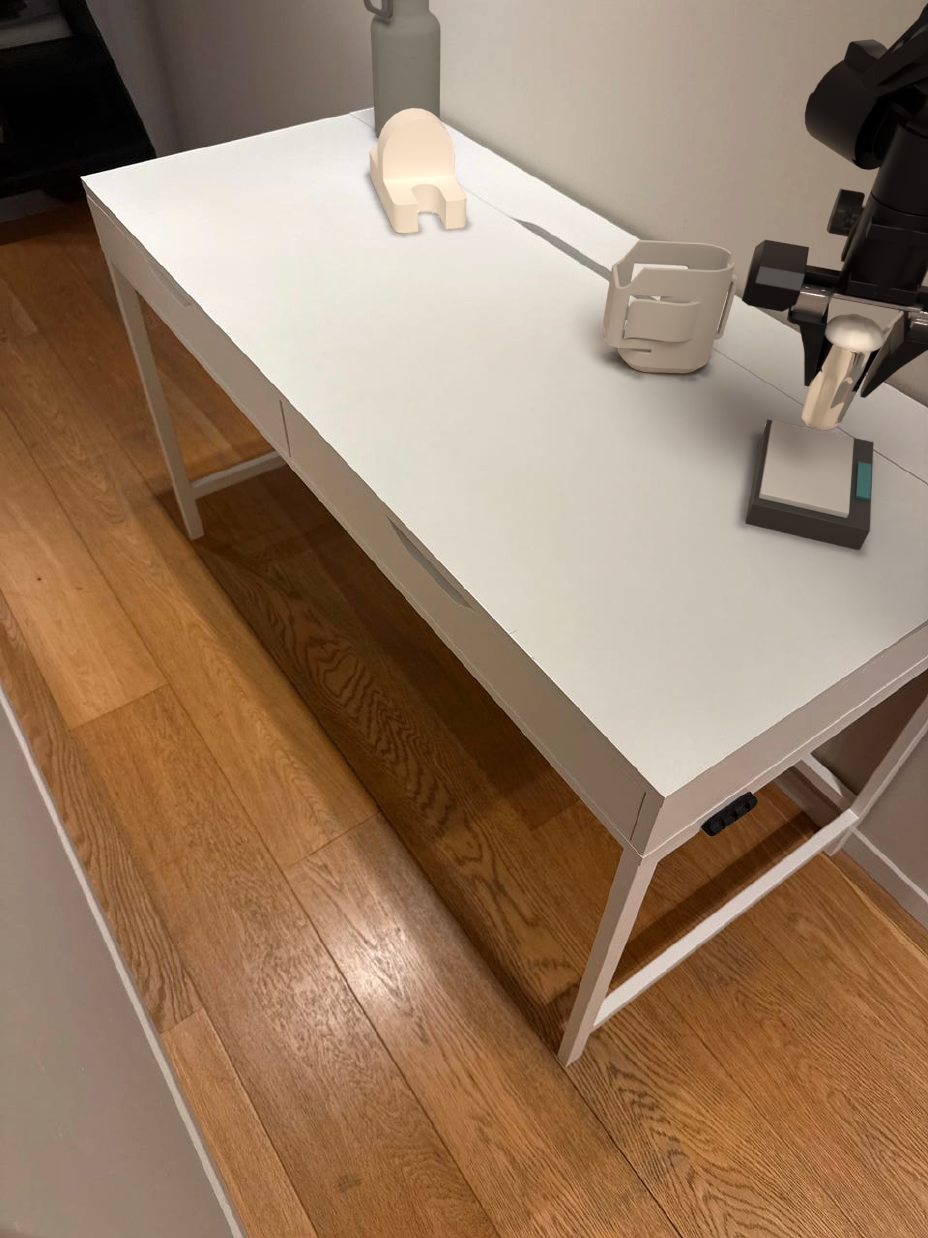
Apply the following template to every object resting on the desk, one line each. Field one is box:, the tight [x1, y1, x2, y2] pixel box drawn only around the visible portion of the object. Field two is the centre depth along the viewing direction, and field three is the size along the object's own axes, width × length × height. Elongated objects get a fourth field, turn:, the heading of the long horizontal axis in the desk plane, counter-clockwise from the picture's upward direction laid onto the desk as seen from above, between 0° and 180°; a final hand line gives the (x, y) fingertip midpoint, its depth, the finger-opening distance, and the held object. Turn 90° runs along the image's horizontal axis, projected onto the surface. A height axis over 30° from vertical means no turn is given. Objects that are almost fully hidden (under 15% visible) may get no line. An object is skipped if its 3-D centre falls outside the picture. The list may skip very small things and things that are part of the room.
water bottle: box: [363, 0, 442, 137], centre depth 123 cm, size 10×10×28 cm
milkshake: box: [801, 311, 904, 431], centre depth 71 cm, size 4×5×10 cm
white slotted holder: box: [368, 108, 468, 234], centre depth 116 cm, size 10×18×11 cm, turn 15°
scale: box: [745, 419, 875, 551], centre depth 81 cm, size 10×13×3 cm
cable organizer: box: [602, 239, 739, 374], centre depth 91 cm, size 7×12×12 cm, turn 88°
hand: (834, 389), depth 73 cm, fingers closed on milkshake, 4 cm apart
